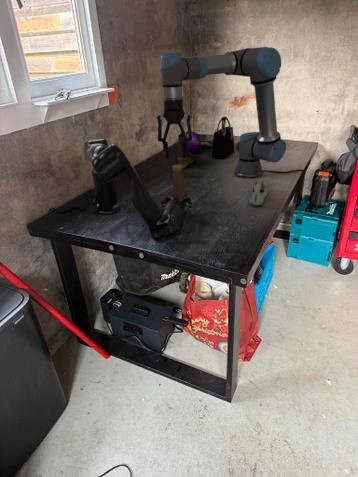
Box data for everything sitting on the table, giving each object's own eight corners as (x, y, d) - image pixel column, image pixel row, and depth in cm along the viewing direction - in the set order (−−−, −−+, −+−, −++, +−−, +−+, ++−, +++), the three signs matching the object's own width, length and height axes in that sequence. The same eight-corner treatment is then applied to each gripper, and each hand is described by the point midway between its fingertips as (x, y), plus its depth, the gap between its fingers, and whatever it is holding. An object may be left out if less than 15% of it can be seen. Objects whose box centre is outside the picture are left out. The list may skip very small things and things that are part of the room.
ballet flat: (269, 188, 169) (270, 173, 165) (265, 208, 149) (266, 191, 145) (252, 187, 171) (253, 172, 167) (246, 206, 151) (247, 190, 147)
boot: (196, 157, 223) (195, 127, 213) (189, 169, 203) (188, 135, 192) (183, 157, 225) (182, 127, 215) (176, 168, 204) (174, 136, 194)
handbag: (222, 159, 215) (223, 120, 203) (210, 158, 220) (210, 119, 207) (235, 151, 230) (236, 114, 218) (223, 150, 234) (224, 113, 222)
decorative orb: (204, 151, 235) (204, 129, 228) (194, 156, 225) (193, 134, 217) (186, 149, 243) (186, 128, 235) (175, 154, 232) (174, 132, 224)
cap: (172, 171, 139) (171, 167, 138) (172, 167, 143) (172, 164, 142) (182, 170, 139) (182, 167, 138) (182, 167, 142) (182, 164, 142)
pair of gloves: (199, 150, 238) (199, 143, 235) (184, 143, 258) (184, 136, 255) (235, 144, 247) (235, 137, 245) (218, 137, 268) (218, 131, 265)
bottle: (174, 214, 149) (171, 168, 138) (175, 209, 153) (172, 165, 142) (184, 214, 149) (182, 168, 138) (185, 209, 153) (182, 165, 142)
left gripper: (190, 204, 132) (195, 188, 147) (155, 203, 135) (164, 187, 149) (190, 220, 136) (195, 203, 150) (157, 219, 138) (165, 203, 153)
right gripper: (198, 96, 129) (199, 154, 140) (149, 98, 131) (154, 155, 142) (198, 99, 122) (198, 160, 134) (146, 100, 124) (151, 160, 136)
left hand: (179, 195), depth 150 cm, fingers closed on bottle, 4 cm apart
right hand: (176, 157), depth 138 cm, fingers open, 7 cm apart
